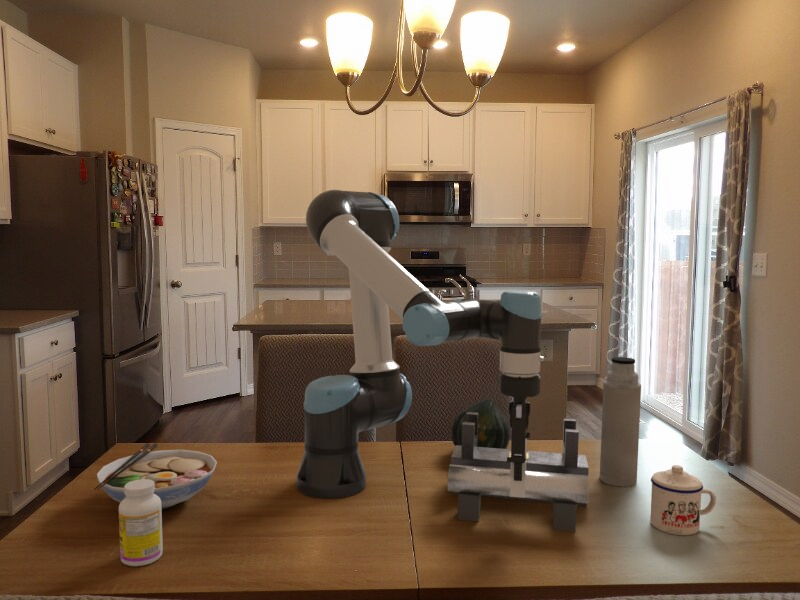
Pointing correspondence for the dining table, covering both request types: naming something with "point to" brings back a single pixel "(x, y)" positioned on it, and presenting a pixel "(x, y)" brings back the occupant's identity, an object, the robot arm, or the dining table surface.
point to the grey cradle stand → (534, 462)
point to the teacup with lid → (678, 501)
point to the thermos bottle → (620, 424)
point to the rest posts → (561, 511)
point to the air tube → (535, 486)
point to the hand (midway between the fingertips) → (518, 483)
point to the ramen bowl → (159, 473)
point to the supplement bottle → (140, 524)
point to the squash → (484, 425)
